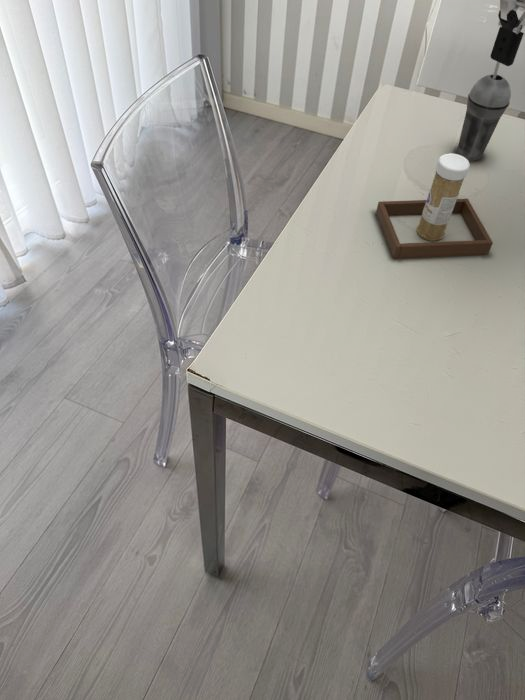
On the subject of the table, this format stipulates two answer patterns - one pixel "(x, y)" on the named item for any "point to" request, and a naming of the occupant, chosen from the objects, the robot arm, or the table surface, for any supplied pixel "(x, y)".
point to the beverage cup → (483, 114)
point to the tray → (432, 248)
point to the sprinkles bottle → (442, 196)
